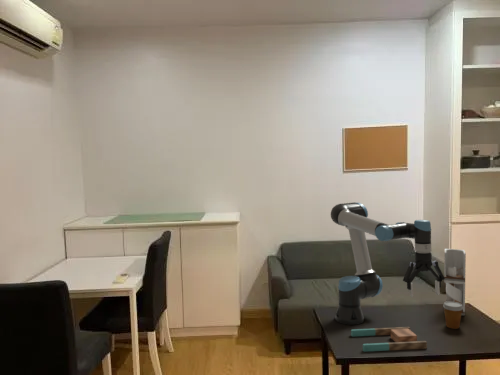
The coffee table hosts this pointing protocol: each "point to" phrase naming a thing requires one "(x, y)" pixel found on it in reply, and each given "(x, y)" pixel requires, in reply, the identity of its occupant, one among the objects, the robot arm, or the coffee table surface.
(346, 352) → the coffee table surface
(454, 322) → the disposable coffee cup
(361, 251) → the robot arm
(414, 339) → the wooden block
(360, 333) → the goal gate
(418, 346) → the lane walls
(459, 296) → the white open shelf
